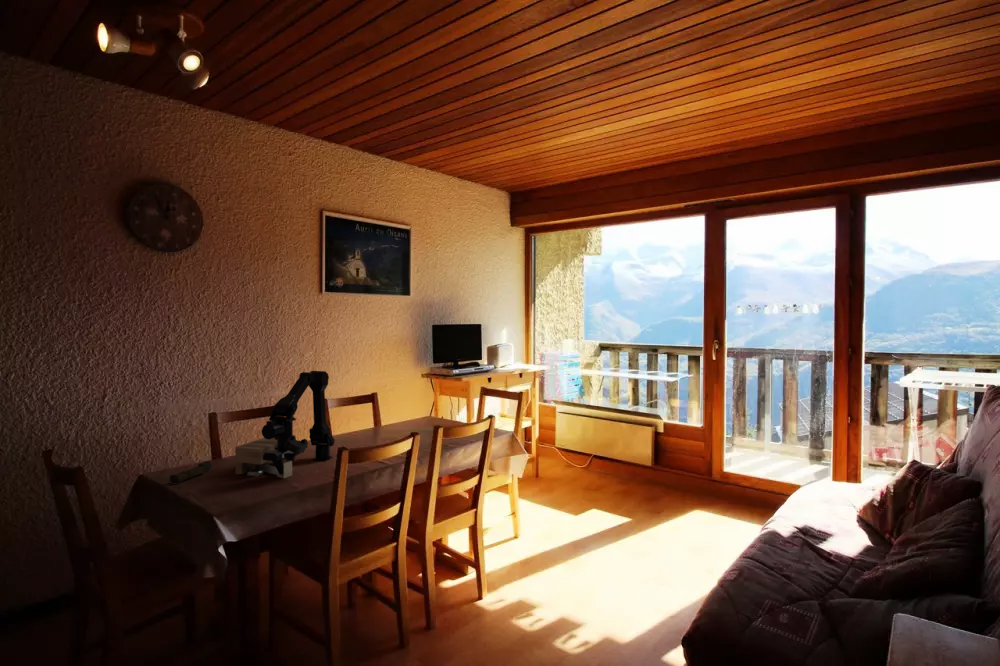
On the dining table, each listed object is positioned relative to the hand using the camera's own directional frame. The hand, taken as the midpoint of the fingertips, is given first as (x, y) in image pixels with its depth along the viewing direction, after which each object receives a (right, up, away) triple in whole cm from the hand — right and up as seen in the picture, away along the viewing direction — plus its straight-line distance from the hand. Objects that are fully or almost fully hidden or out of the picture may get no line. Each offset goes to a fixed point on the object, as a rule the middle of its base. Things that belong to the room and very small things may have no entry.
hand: (285, 472), depth 213 cm
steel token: (-13, -2, +3) cm, 14 cm away
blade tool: (-7, -1, +4) cm, 8 cm away
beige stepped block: (-13, -1, +11) cm, 17 cm away
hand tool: (-36, -2, -1) cm, 36 cm away
